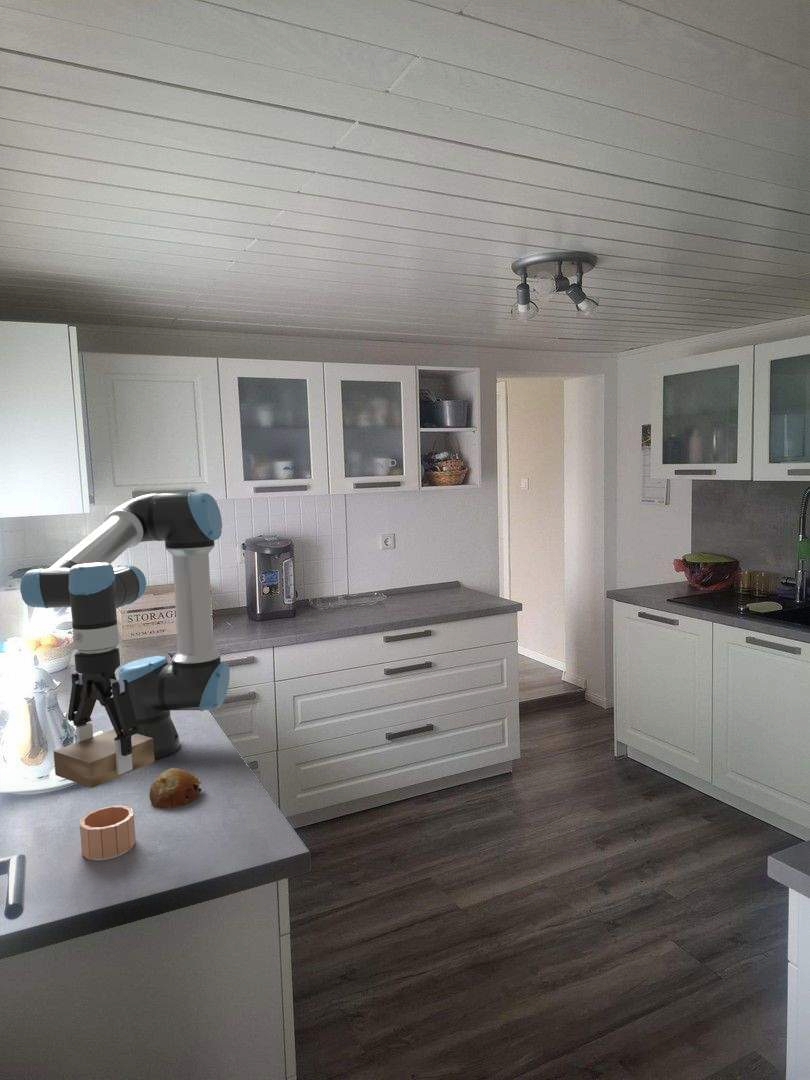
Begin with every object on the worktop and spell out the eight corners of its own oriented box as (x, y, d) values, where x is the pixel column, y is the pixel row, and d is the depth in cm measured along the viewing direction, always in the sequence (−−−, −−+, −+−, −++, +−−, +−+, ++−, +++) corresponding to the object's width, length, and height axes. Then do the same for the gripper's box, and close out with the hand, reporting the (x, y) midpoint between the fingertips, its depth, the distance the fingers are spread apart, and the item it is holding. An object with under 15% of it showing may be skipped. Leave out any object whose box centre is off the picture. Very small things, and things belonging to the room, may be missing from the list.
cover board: (118, 750, 140) (116, 728, 140) (154, 761, 134) (153, 738, 134) (55, 775, 129) (53, 751, 129) (91, 788, 123) (89, 763, 123)
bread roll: (170, 803, 159) (153, 772, 158) (210, 783, 158) (193, 752, 158) (153, 824, 149) (135, 791, 149) (196, 804, 148) (177, 770, 148)
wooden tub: (116, 830, 139) (114, 801, 139) (145, 843, 134) (143, 812, 134) (71, 852, 132) (69, 821, 131) (101, 866, 127) (98, 834, 126)
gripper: (41, 645, 133) (50, 759, 135) (117, 661, 120) (126, 786, 122) (78, 637, 139) (87, 746, 141) (155, 651, 126) (163, 770, 128)
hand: (105, 765), depth 132 cm, fingers closed on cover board, 11 cm apart
